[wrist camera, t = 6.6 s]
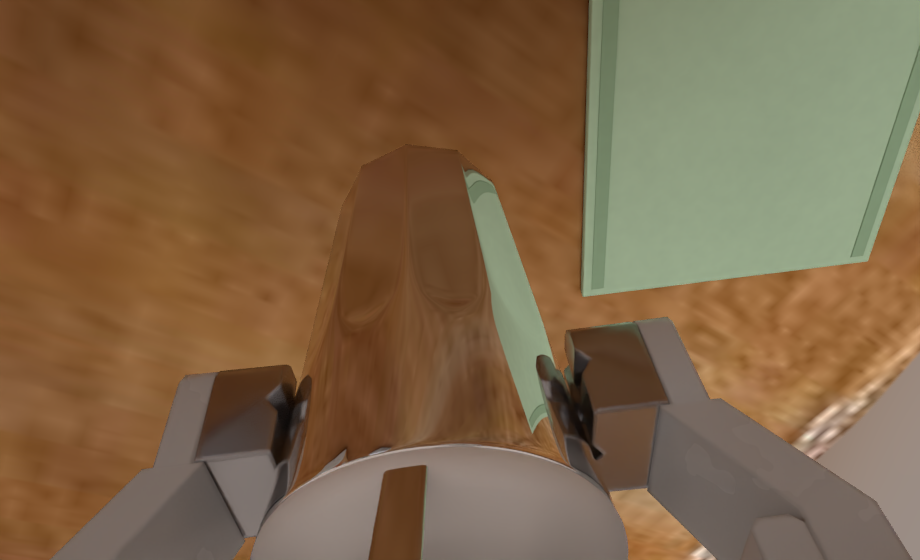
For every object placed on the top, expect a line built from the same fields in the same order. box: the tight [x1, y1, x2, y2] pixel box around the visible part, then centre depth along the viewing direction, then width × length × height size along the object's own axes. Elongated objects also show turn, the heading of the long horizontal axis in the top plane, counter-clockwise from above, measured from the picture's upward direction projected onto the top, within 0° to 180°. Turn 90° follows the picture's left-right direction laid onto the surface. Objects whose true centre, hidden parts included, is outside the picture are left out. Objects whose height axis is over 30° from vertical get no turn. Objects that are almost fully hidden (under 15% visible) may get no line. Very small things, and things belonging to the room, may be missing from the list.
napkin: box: [581, 0, 920, 297], centre depth 24 cm, size 16×12×1 cm
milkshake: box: [250, 144, 628, 560], centre depth 11 cm, size 4×5×10 cm
